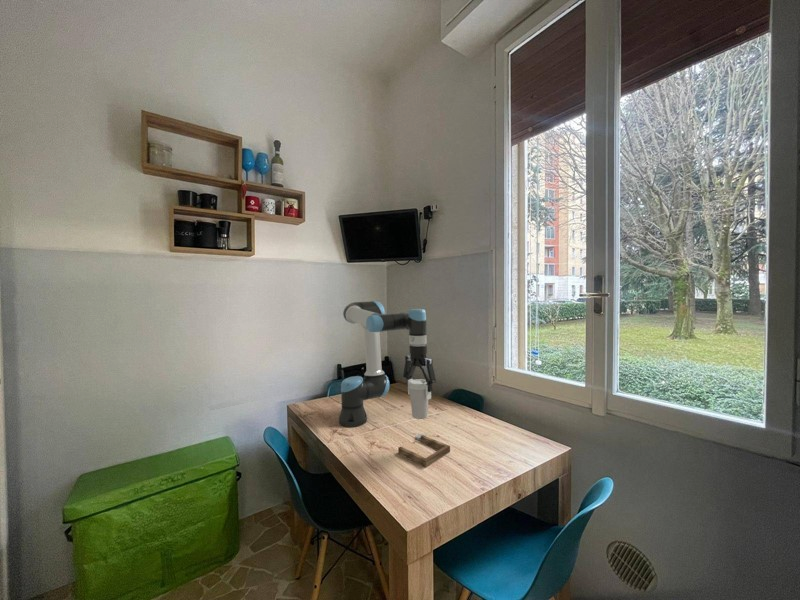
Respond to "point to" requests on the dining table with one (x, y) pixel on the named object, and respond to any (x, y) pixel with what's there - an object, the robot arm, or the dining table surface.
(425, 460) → the bracket
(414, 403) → the coffee cup
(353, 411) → the robot arm
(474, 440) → the dining table surface
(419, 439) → the slate tile
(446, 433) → the dining table surface
